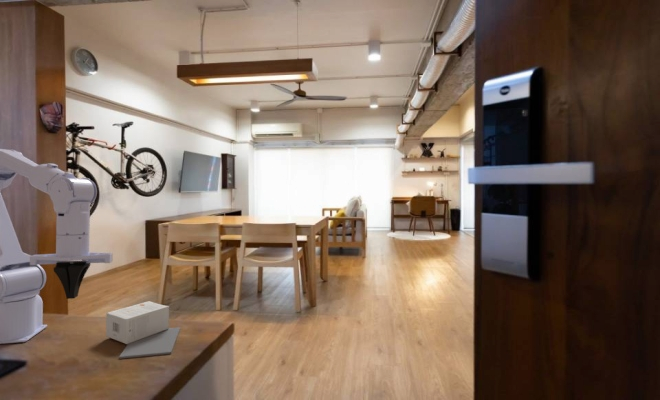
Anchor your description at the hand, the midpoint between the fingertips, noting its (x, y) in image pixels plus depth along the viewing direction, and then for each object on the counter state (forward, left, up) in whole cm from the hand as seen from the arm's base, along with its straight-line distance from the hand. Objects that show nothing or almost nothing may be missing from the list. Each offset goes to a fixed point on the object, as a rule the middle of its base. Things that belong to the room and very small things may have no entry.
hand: (72, 297), depth 74 cm
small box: (+1, +8, -7) cm, 11 cm away
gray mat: (+2, +16, -10) cm, 19 cm away
